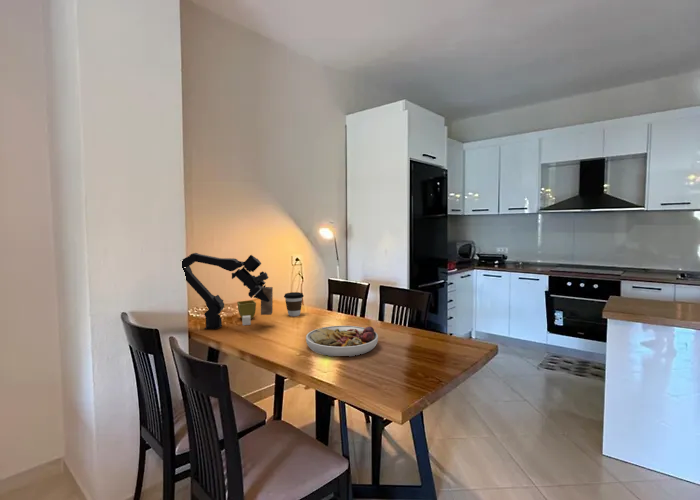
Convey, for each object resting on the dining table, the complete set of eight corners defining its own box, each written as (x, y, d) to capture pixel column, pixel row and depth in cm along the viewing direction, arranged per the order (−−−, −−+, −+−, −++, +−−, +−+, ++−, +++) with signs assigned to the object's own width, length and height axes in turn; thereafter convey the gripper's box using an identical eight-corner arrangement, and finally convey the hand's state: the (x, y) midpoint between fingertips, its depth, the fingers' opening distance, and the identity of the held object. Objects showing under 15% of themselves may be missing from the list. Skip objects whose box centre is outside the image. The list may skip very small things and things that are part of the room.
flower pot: (237, 317, 208) (236, 301, 207) (253, 315, 211) (253, 299, 211) (239, 321, 200) (239, 304, 199) (256, 319, 203) (256, 302, 203)
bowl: (313, 363, 140) (312, 342, 139) (301, 339, 169) (301, 322, 168) (388, 355, 148) (388, 335, 147) (365, 333, 177) (365, 317, 176)
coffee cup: (283, 313, 216) (282, 292, 215) (302, 312, 219) (301, 291, 218) (285, 318, 205) (285, 296, 204) (305, 316, 209) (305, 295, 208)
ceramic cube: (242, 325, 192) (242, 317, 191) (242, 323, 196) (242, 315, 195) (250, 324, 193) (250, 317, 192) (250, 322, 197) (250, 315, 196)
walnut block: (260, 314, 186) (260, 288, 185) (262, 312, 191) (262, 287, 190) (271, 314, 186) (271, 288, 186) (272, 312, 191) (272, 287, 191)
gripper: (255, 269, 178) (279, 292, 179) (261, 264, 196) (282, 285, 198) (238, 286, 177) (262, 309, 179) (246, 280, 196) (267, 300, 198)
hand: (269, 300), depth 188 cm, fingers closed on walnut block, 5 cm apart
